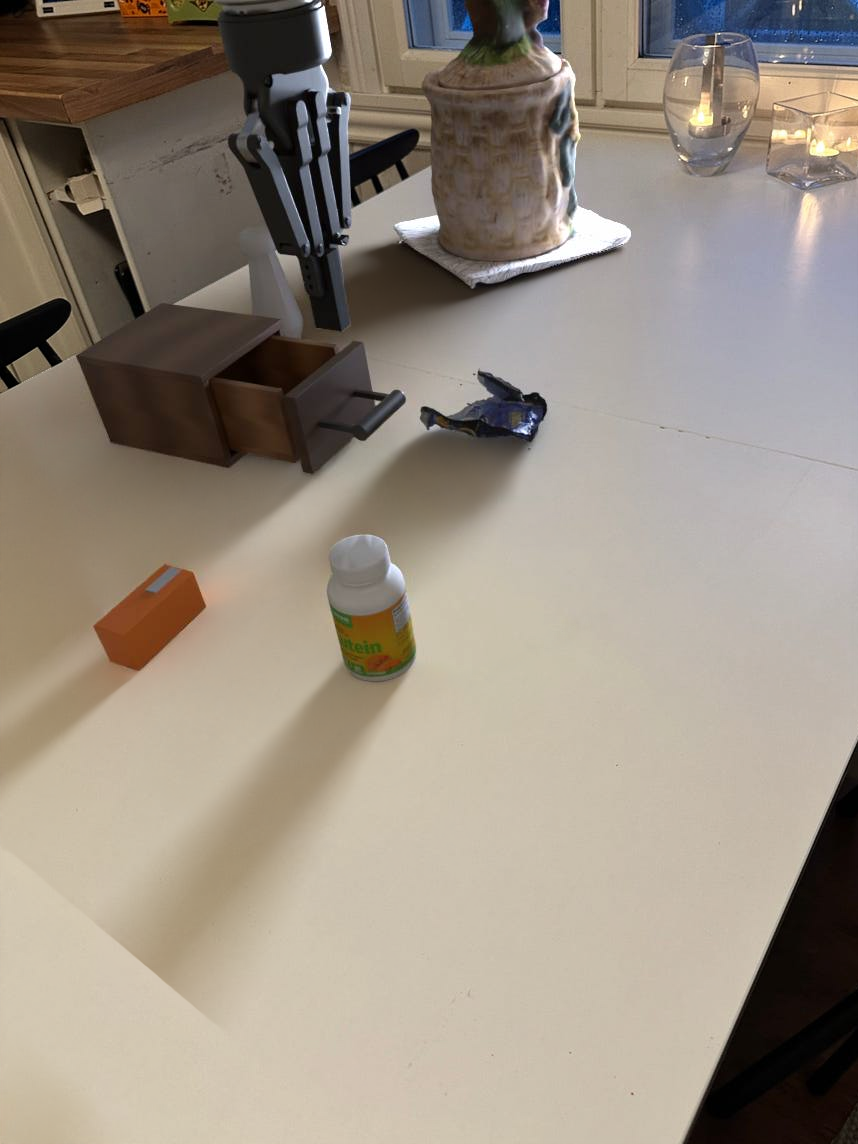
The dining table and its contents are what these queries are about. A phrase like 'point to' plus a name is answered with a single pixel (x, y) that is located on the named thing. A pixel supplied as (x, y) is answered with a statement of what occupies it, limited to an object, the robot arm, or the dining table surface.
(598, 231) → the cookie jar
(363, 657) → the supplement bottle
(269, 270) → the salt shaker
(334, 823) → the dining table surface
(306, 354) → the drawer
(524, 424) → the snack package
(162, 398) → the cabinet
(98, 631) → the taped cardboard carton
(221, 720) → the dining table surface
